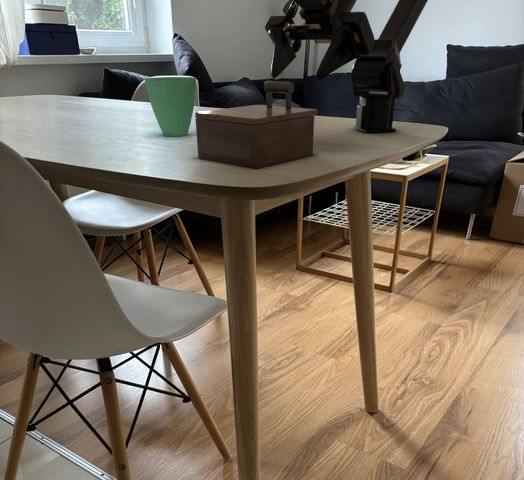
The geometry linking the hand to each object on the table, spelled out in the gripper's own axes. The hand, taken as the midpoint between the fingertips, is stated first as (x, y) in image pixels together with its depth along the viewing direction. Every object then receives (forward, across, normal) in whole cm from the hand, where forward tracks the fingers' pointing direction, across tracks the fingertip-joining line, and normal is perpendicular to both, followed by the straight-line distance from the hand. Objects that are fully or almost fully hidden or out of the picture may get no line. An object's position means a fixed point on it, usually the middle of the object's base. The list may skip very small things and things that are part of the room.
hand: (294, 77), depth 82 cm
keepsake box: (+14, 0, +1) cm, 14 cm away
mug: (+8, -30, +7) cm, 32 cm away
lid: (+10, 0, -3) cm, 10 cm away
